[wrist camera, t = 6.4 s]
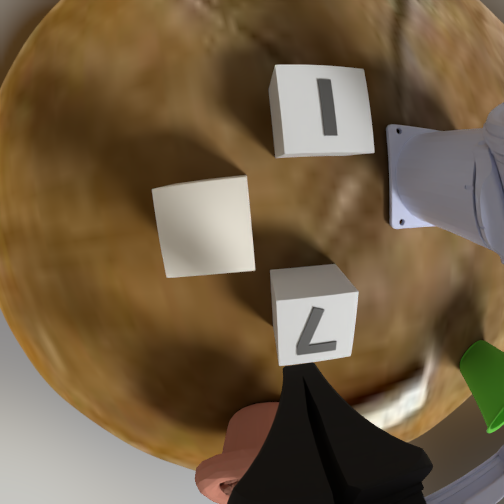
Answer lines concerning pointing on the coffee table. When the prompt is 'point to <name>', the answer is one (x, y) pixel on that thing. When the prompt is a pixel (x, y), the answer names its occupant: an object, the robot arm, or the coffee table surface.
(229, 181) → the cream block
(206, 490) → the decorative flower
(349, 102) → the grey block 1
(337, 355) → the white marked cube 7
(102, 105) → the coffee table surface
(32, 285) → the coffee table surface
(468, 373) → the cup
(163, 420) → the coffee table surface
